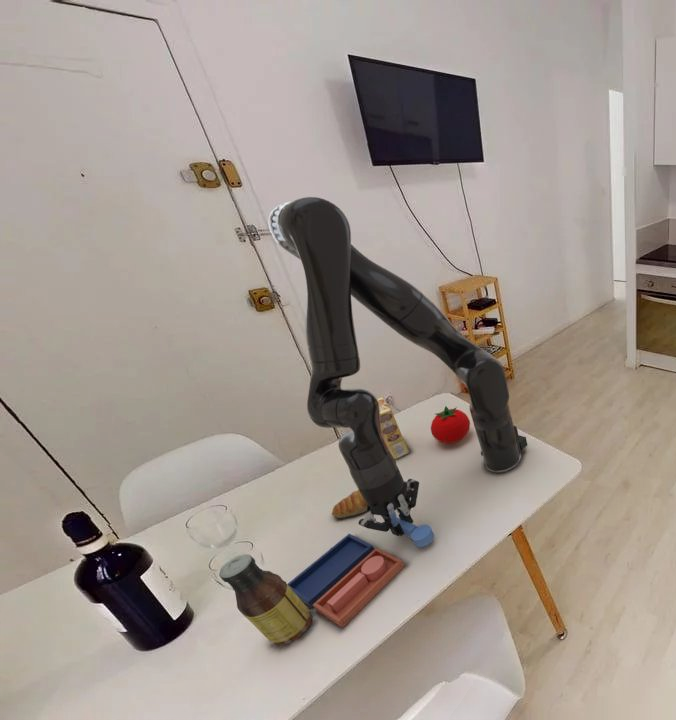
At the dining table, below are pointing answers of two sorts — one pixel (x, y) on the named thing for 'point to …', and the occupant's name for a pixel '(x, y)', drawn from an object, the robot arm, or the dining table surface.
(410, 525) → the blue spoon
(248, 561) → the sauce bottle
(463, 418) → the tomato
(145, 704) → the dining table surface
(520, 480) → the dining table surface
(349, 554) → the blue tray
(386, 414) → the candy box
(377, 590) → the rose tray
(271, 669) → the dining table surface
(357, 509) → the pastry
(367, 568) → the rose spoon
